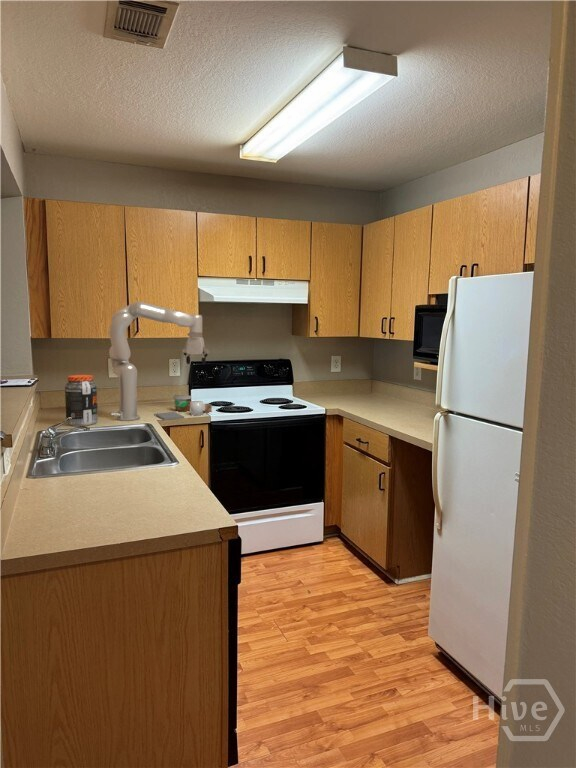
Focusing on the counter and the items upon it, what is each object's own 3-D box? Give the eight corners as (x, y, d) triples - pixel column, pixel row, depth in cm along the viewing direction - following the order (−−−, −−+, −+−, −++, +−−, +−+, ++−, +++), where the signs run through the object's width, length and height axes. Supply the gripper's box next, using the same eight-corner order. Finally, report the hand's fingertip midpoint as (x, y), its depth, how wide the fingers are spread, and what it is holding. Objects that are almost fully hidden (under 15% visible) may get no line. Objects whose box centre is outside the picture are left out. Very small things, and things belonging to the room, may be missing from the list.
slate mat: (163, 420, 288) (163, 418, 288) (154, 415, 301) (154, 413, 301) (184, 418, 294) (184, 416, 294) (173, 413, 307) (173, 411, 307)
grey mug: (193, 416, 299) (193, 403, 298) (189, 414, 305) (188, 401, 304) (207, 415, 304) (207, 402, 303) (202, 413, 310) (202, 400, 308)
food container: (169, 411, 315) (168, 395, 314) (175, 409, 320) (175, 393, 319) (185, 413, 309) (184, 396, 308) (191, 411, 315) (191, 395, 313)
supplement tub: (100, 425, 272) (98, 376, 269) (68, 427, 264) (66, 378, 261) (94, 419, 286) (93, 373, 283) (64, 422, 278) (62, 374, 275)
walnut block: (205, 413, 309) (205, 405, 308) (199, 412, 312) (199, 404, 312) (211, 412, 313) (211, 404, 312) (206, 411, 316) (206, 403, 315)
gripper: (179, 335, 305) (179, 364, 307) (207, 336, 301) (206, 365, 303) (185, 335, 312) (185, 363, 314) (211, 335, 308) (211, 364, 310)
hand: (195, 364), depth 308 cm, fingers open, 9 cm apart
